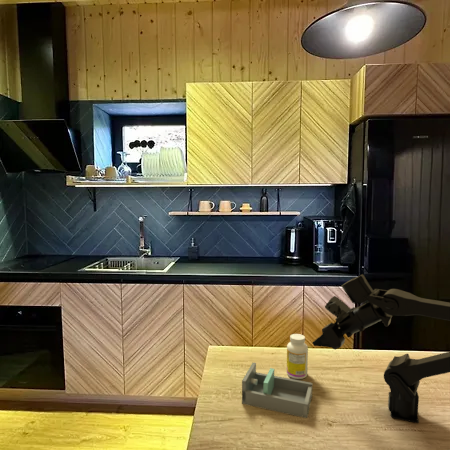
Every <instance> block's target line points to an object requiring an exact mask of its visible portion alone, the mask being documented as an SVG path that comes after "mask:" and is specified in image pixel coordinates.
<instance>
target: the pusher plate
mask: <svg viewBox="0 0 450 450" xmlns="http://www.w3.org/2000/svg"><path fill="white" fill-rule="evenodd" d="M266 374H267V376H266V378H265V381H264V384H263V393H265V394H270V395H271V393H272V390H273V388H274V376H275V368H272V367H270V368H269V370H268V373H266Z"/></svg>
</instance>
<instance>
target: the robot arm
mask: <svg viewBox="0 0 450 450" xmlns="http://www.w3.org/2000/svg"><path fill="white" fill-rule="evenodd" d="M341 289H343V292H344V293H345V294H346V296H347V297H348V298H349V300H350V301H351V303H352V304H354V305H356V304H357V305H359V306H358V307H356V306H353V307H351V308H350V307H349V306H348V305H347V304H346V303H345V302H344V301H343V300H342V299H341V298H339V297H338V296H336V295H334V296H332V297H331V298H329V301H328V302H327V303H326V304H325V305H324V308H325V310H327V311H328V312H329V313H330V314H332V315H333V316H335V317H336V318H335V321H334V322H330V323H328V324H326V325H325V326H324V327H323V328H321V332H322V333H321V335H320V336H318V337H317V338H316V339H314V341H312V344H313V346H314V347H322V348H332V349H333V350H338V349H340V348H341V347H342V346H343V345H344V344H345V341H346V338H345V336H344V335H346V337H347V338H350V337H352V336H353V335H354V334H357V333H358V332H360V333H362V332H363V331H364V330H365V329H367V328H368V327H371V326H373V325H375V324H377V323H378V322H381V321H382V323H383V325H384V326H385V327H389V325H390V324H391V321H392V317H394V316H398V317H407V316H422V317H427V318H433V319H439V320H444V321H449V322H450V302H447V301H442V300H437V299H436V300H435V299H430V298H423V297H420V296H417V295H414V294H413V293H412V292H408V291H404V290H402V289H398V288H390V289H388V290H386V289H379V288H374V289H373V288H372V286H371V285H370V283H369V282H368V280H367V279H366V277H365V275H364V274H363V273H362V274H360V275H359V276H356V277H352V279H350V280H348V281H346V282H345V283H343V284H342V285H341ZM366 301H367V302H366ZM364 302H365V303H364ZM363 303H364V304H363ZM361 304H362V305H361ZM449 373H450V351H447V352H443V353H438V354H435V355H430V356H427V357H426V356H425V357H422V358H417V359H416V358H411V357H410V355H409V353H405V354H402V355H401V356H394V357H393V359H392V360H390V362H389V363H388V365H387V367H386V368H385V370H384V372H383V380H384V382H385V383H386V385H387V386H388V387H389V390H390V391H389V392H388V399H387V407H388V412H390V416H391V417H390V418H393V419H397V420H401V421H405V422H410V423H417V424H419V422H420V420H419V416H418V415H419V402H420V401H419V399H420V398H419V397H420V396H419V393H418V389H419V386H420V383H421V382H420V381H421V380H423V379H425V378H431V377H436V376H440V375H445V374H449Z"/></svg>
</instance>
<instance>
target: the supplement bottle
mask: <svg viewBox="0 0 450 450" xmlns="http://www.w3.org/2000/svg"><path fill="white" fill-rule="evenodd" d="M289 340H290V341H289V342H288V343H287V345H286V374H287V376H288V378H289V377H290V379H294V380H303V379H305V378H306V377H307V376H308V369H309V368H308V365H309V363H308V362H309V361H308V360H309V358H308V357H309V346H308V345H307V343H305V342H306V337H305V335H303V334H300V333H292V334H290V335H289Z"/></svg>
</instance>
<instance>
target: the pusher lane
mask: <svg viewBox="0 0 450 450" xmlns="http://www.w3.org/2000/svg"><path fill="white" fill-rule="evenodd" d="M267 374H268V373H261V372H257V363H256V362H252V363H251V365H250V367H249V368H248V370H247V372H246V373H245V375H244V377H243V378H242V379H241V404H244V405H246V406H250V407H251V406H252V407H254V408H255V407H256V408H260V409H264V410H268V411H269V410H270V411H274V412H277V413H281V414H282V413H283V414H288V415H291V416H295V417H300V418H304V419H305V418H306V419H308V416H309V411H310V407H311V401H312V396H313V382H310V381H304V380H300V379H294V378H289V377H288V378H287V377H284V376H283V377H282V376H278V375H274V388H273V390H272V393H271V395H270V394H265V393H263V384H264V381H265V378H266V376H267Z"/></svg>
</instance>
